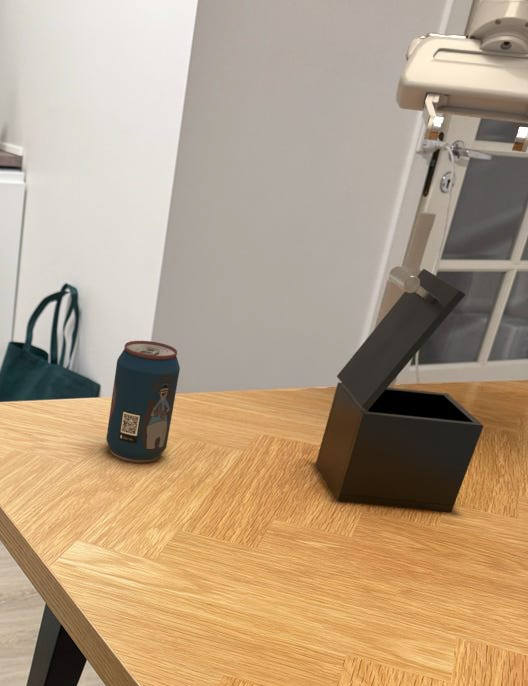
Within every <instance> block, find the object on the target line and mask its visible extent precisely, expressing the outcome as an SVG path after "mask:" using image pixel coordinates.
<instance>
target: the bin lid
mask: <svg viewBox="0 0 528 686" xmlns="http://www.w3.org/2000/svg"><path fill="white" fill-rule="evenodd" d="M402 267H403V266H399V265H398V266H395V267H392V268H391V269H390V271H389V273H388V279H389V280H390V281H391V282H392V283H394V284H395V285H397V286H398V287H399V288H401V289H402V290H404V291H405V292H404V293H403V295H402V296H401V297H400V298H399V300H398V301H397V302H396V303H395V305H394V306H393V307H392V308H391V310H390V311H389V312H388V313H387V314H386V316H385V317H384V318H383V319H382V321H381V322H380V323H379V324H378V326H377V327H376V328H375V327H374V328H375V329H373V330H372V332H371V333H370V334H369V335H368V337H367V338H366V339H365V340H364V342H363V343H362V344H361V345H360V347H359V348H358V349H357V350H356V351H355V353H354V354H353V355H352V357H351V358H350V359H349V360H348V361H347V363H346V364H345V365H344V367H343V368H342V369H341V370H340V371H339V372H338V374H337V375H336V377H337V379H338V380H339V381H340V383H343V385H344V386H345V387H346V388H347V389H348V391H349V392H350V393H351V394H352V395H353V397H354V398H355V399H356V400H357V402H358V403H359V404H360V405H361V406H362V407H363V408H364V409H365V410H367V411H368V410H369V409H370V407H371V406H372V405H373V404H374V403H375V401H376V400H377V399H378V398H379V397H380V396H381V394H382V393H383V392H384V391H385V390H386V388H387V387H388V386H389V385H390V384H391V383H392V381H393V380H394V379H395V378H396V377H397V378H398V376H399V374H400V373H402V371H403V369H404V368H405V367H406V366H407V365H408V364H409V363H410V361H412V359H413V358H414V356H416V354H418V352H419V351H420V350H421V348H422V347H423V346H424V345H425V344H426V342H427V341H429V339H430V338H431V337H432V335H433V334H434V333H435V332H436V330H437V329H439V327H440V326H441V325H442V324H443V322H445V320H446V319H447V317H449V315H450V314H451V313H452V312H453V310H454V309H455V308H456V307H457V306H458V304H460V303H461V302H462V300H463V299H464V297H465V296H466V293H465V292H463V291H462V290H460V289H459V288H457V287H455V286H454V285H452V284H450V283H449V282H447V281H446V280H444V279H442V278H441V277H439V276H437V275H436V274H434V273H432V272H431V271H429V270H427V269H425V268H422V269H421V272H420V274H419V275H418V276H417V277H416V276H415V275H413V274H412V273H410V272H408V271H407V270H405V269H404V268H402ZM397 375H398V376H397Z"/></svg>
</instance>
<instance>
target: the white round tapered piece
mask: <svg viewBox="0 0 528 686" xmlns="http://www.w3.org/2000/svg"><path fill="white" fill-rule="evenodd" d="M417 216H418V217H417V220H416V224H415V227H414V232H413V235H412V238H411V241H410V245H409V249H408V253H407V255H406V258H405V262H404V265H403V266H401V267H402V268H404V269H405V270H407V271H408V272H410V273H412V274H413V275H415V276H416V277H417V276H418V275H419V274H420V272H421V271H422V269H421V265H422V261H423V258H424V255H425V251H426V248H427V245H428V241H429V238H430V236H431V231H432V230H433V226H434V223H435V220H436V216H437V213H434V212H433V213H432V212H426V211H419V213H418V215H417ZM404 292H405V291H404V290H402V289H401V288H399V287H398V286H397V285H395V284H394V283H392V282H391V281H390V280H389V278H387V279H386V283H385V286H384V291H383V295H382V297H381V302H380V305H379V309H378V313H377V318H376V320H375V324H374V329H375V328H376V327H377V326H378V324H379V323H380V322H381V321H382V319H383V318H384V317H385V316H386V314H387V313H388V312H389V311H390V310H391V308H392V307H393V306H394V305H395V303H396V302H397V301H398V300H399V298H400V297H401V296H402V295H403V293H404ZM374 329H373V330H374ZM398 376H399V374H398V375H397V377H396V378H395V379H394V380H393V381H392V383H391V384H390V385H389V386H388V388H395V386H396V381H397V379H398Z"/></svg>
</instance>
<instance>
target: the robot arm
mask: <svg viewBox="0 0 528 686" xmlns="http://www.w3.org/2000/svg"><path fill="white" fill-rule="evenodd" d="M405 60H406V63H405V65H404V67H403V69H402V71H401V74H400V77H399V80H398V83H397V87H396V92H395V93H396V94H395V102H396V103H397V105H398V107H399V108H400V109H403V110H410V111H419V112H421V113H422V114H421V119H422V121H423V123H424V126H425V128H426V129H425V132H424V138H423V140H425V141H427V140H428V141H433V142H434V141H435V142H437V141H438V139H439V136H440V133H441V130H442V127H443V123H444V119H445V117H442V116H437V114H443V115H451V116H452V115H453V116H459V117H468V118H469V117H470V118H477V119H487V120H495V121H503V122H511V123H520V124H528V0H481V2H480V3H479V5H478V7H477V9H476V11H475V13H474V17H473V19H472V23H471V26H470V29H469V31H468V34H467V35H463V34H443V33H438V32H428V33H426V35H423V36H419V37H416V38H414V39H412V41H411V42H410V44H409V46H408V49H407V51H406V54H405ZM527 150H528V126H519V127H518V130H517V133H516V136H515V139H514V142H513V145H512V148H511V151H513V152H519V153H526V152H527Z"/></svg>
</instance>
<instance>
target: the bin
mask: <svg viewBox="0 0 528 686" xmlns="http://www.w3.org/2000/svg"><path fill="white" fill-rule="evenodd" d="M328 414H329V415H328V417H327V420H326V425H325V428H324V432H323V436H322V439H321V443H320V446H319V451H318V454H317V458H316V461H315V466H316V467H317V469H318V471H319V472H320V474H321V476H322V477H323V480H324V481H325V482H326V484H327V486H328V488H329V490H330V491H331V492H332V494H333V496H334V498H335V499H336V501H337V502H344V503H354V504H362V505H373V506H381V507H382V506H384V507H393V508H404V509H413V510H424V511H425V510H426V511H434V512H444V513H452V512H453V510H454V506H455V504H456V501H457V498H458V495H459V493H460V490H461V488H462V485H463V483H464V480H465V477H466V474H467V472H468V469H469V466H470V464H471V461H472V458H473V456H474V453H475V450H476V447H477V445H478V442H479V439H480V437H481V435H482V432H483V429H484V425H483V423H481V421H480V420H478V419H477V418H476V417H474V415H472V414H471V413H470V412H469V411H468V410H467V409H466V408H464V407H463V405H462V404H460V403H459V401H457V400H455V399H454V398H453V396H451V395H450V394H449V393H445V392H436V391H426V390H419V389H418V390H417V389H406V388H397V387H394V388H388V387H387V388H386V390H385V391H384V392H383V393H382V394H381V396H380V397H379V398H378V399H377V400H376V401H375V403H374V404H373V405H372V406H371V407H370V409H369V410H368V411H367V410H365V409H364V408H363V407H362V406H361V405H360V404H359V403H358V402H357V400H356V399H355V398H354V397H353V395H352V394H351V393H350V392H349V391H348V389H347V388H346V387H345V386H344V385H343V383H342V382H341V381H340V382H339V381H338V382H337V385H336V389H335V392H334V396H333V399H332V403H331V407H330V410H329V413H328Z"/></svg>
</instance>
